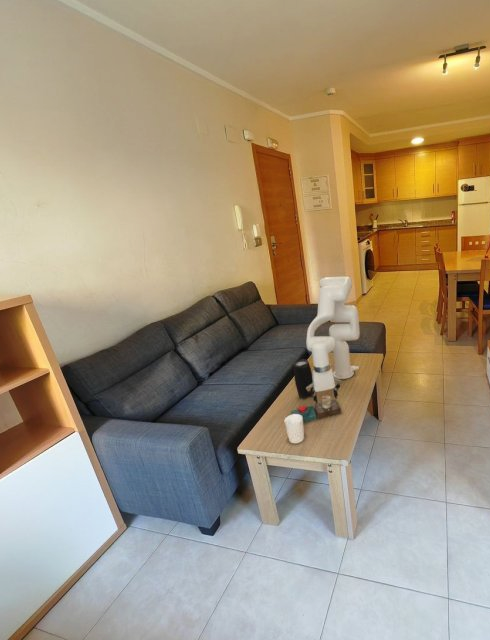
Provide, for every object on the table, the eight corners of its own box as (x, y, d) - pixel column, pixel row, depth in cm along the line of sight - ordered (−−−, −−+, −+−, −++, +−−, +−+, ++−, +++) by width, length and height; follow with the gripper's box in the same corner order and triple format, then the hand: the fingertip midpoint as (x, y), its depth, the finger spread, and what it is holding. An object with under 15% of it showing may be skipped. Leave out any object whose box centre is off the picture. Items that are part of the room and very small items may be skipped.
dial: (330, 402, 169) (329, 394, 167) (332, 407, 165) (331, 398, 163) (321, 404, 168) (320, 396, 166) (323, 409, 164) (322, 400, 162)
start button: (305, 407, 165) (305, 404, 165) (307, 411, 162) (306, 408, 162) (298, 409, 165) (298, 406, 164) (299, 413, 161) (299, 410, 161)
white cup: (290, 446, 145) (286, 426, 141) (285, 436, 152) (282, 417, 148) (308, 440, 147) (304, 421, 144) (302, 430, 154) (299, 411, 151)
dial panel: (336, 404, 173) (335, 398, 172) (340, 413, 164) (340, 407, 163) (315, 409, 170) (314, 403, 169) (318, 418, 162) (317, 413, 161)
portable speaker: (314, 398, 180) (309, 364, 174) (297, 400, 180) (291, 367, 174) (314, 389, 188) (310, 357, 182) (297, 392, 188) (292, 360, 182)
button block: (313, 409, 170) (312, 402, 169) (316, 419, 162) (315, 412, 160) (291, 414, 167) (290, 407, 166) (293, 425, 159) (292, 417, 158)
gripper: (337, 361, 165) (341, 392, 170) (302, 368, 161) (307, 399, 166) (341, 367, 158) (345, 399, 163) (305, 374, 154) (309, 407, 159)
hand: (325, 399), depth 165 cm, fingers open, 9 cm apart
